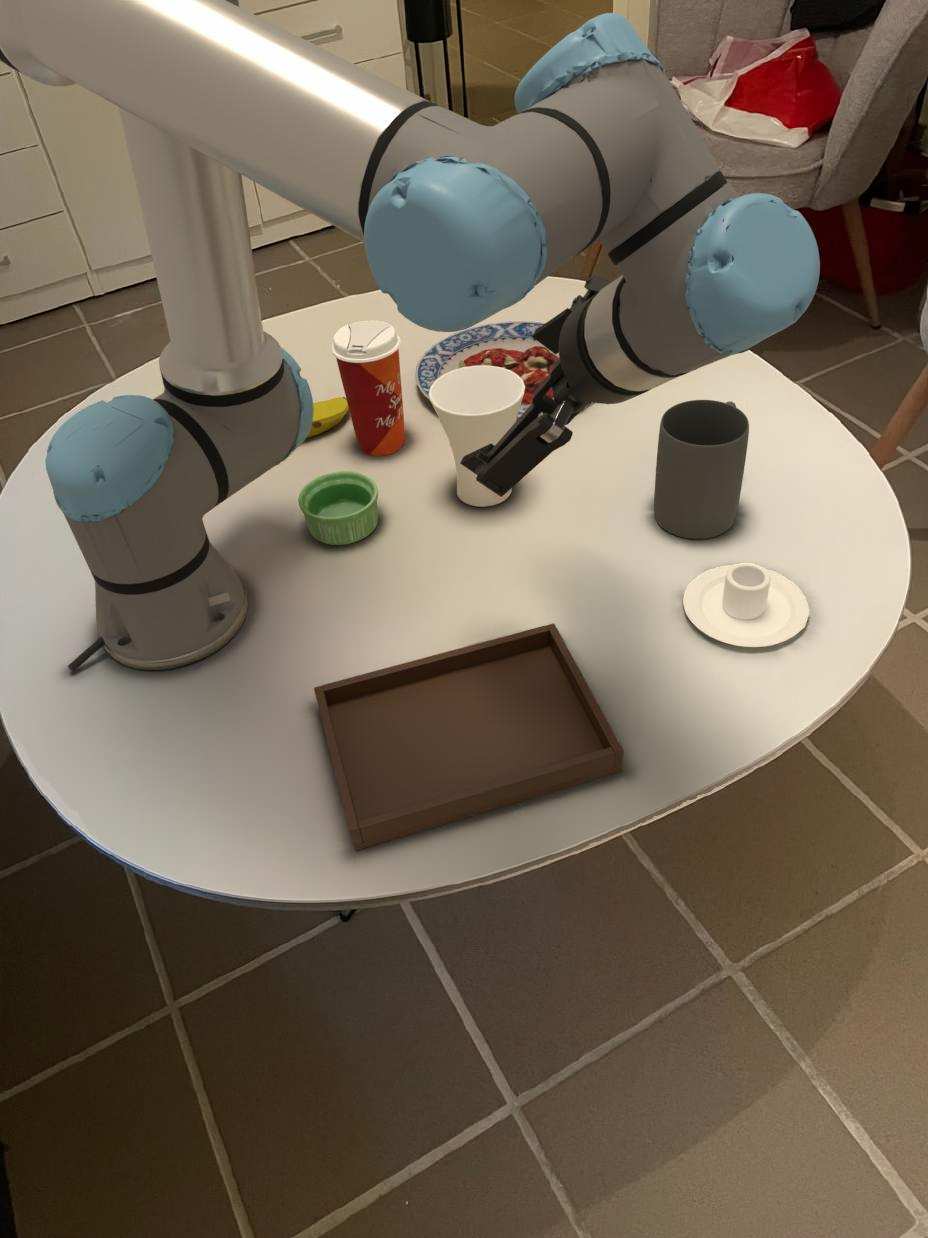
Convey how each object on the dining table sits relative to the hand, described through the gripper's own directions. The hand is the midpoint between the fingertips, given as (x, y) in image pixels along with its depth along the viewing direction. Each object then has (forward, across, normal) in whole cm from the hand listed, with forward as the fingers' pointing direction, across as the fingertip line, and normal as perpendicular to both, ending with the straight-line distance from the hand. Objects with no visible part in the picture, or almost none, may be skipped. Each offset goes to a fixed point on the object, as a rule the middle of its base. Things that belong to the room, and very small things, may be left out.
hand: (510, 404), depth 85 cm
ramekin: (+30, -12, +3) cm, 32 cm away
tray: (+2, -28, -12) cm, 30 cm away
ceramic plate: (+42, +20, -8) cm, 48 cm away
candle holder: (+2, -3, -32) cm, 32 cm away
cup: (+27, 0, -9) cm, 28 cm away
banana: (+50, +1, +14) cm, 52 cm away
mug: (+14, +9, -28) cm, 33 cm away
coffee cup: (+40, +2, +3) cm, 40 cm away
